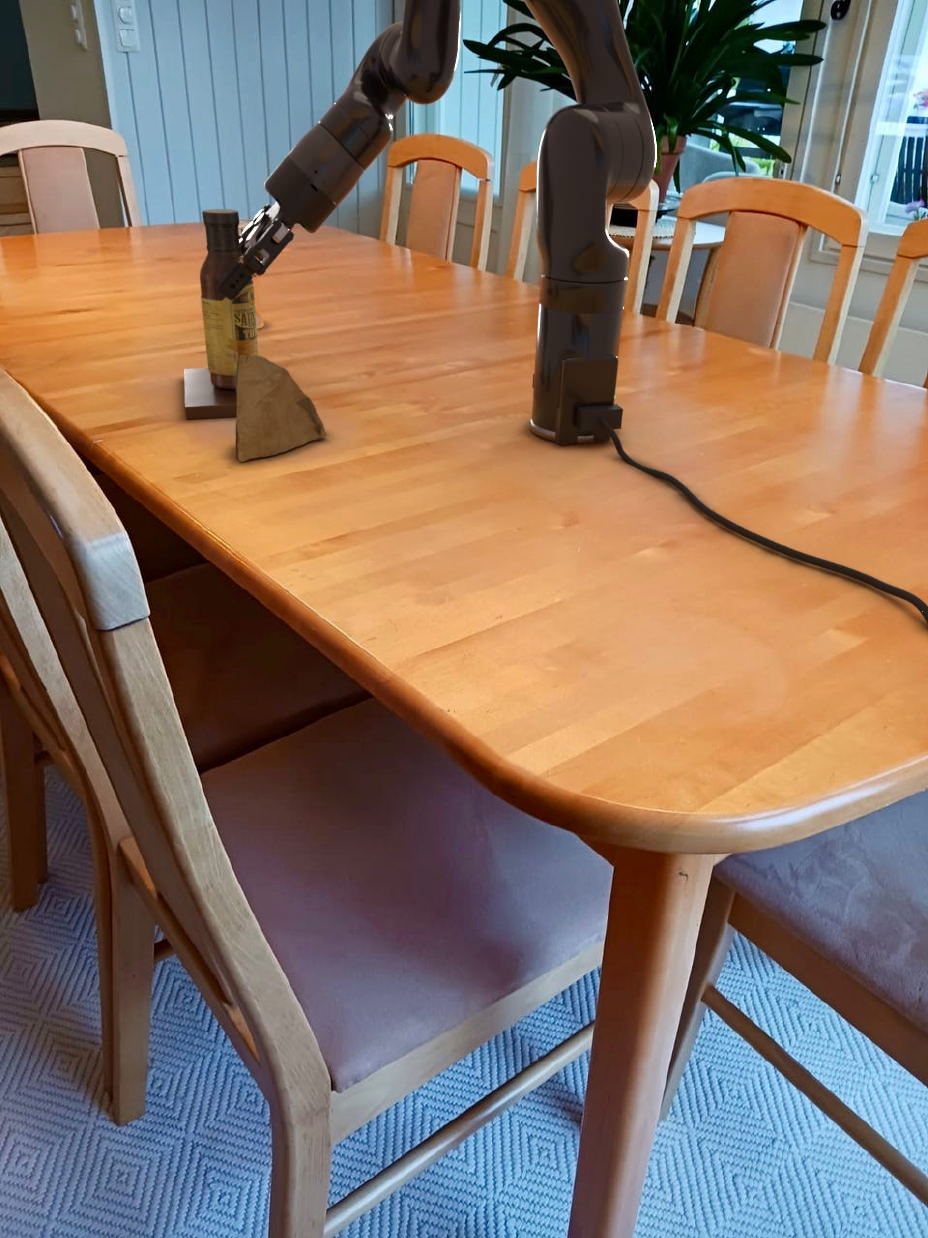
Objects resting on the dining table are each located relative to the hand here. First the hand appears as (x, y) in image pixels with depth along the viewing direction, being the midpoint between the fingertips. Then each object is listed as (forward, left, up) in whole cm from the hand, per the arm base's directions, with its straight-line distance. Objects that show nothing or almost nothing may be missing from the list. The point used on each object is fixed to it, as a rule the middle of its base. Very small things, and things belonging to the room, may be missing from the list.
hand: (222, 286), depth 110 cm
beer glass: (+36, -3, -13) cm, 39 cm away
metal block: (0, 0, -13) cm, 13 cm away
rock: (-19, -4, -13) cm, 23 cm away
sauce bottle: (+1, 0, -12) cm, 12 cm away
